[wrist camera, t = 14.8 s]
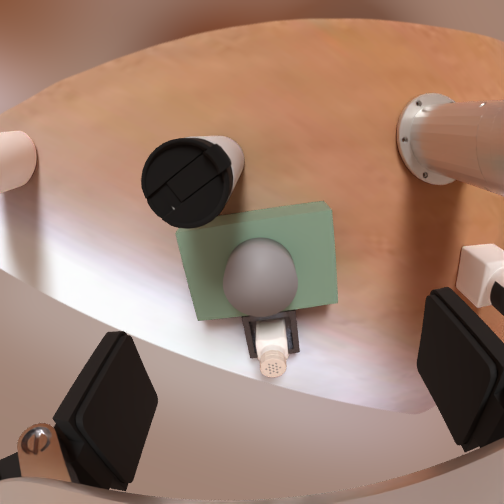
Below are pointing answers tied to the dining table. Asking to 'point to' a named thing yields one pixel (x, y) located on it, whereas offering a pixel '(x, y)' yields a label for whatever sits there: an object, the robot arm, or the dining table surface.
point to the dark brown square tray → (288, 315)
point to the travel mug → (191, 179)
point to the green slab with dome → (261, 261)
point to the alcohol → (16, 159)
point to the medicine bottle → (482, 275)
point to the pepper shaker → (272, 346)
